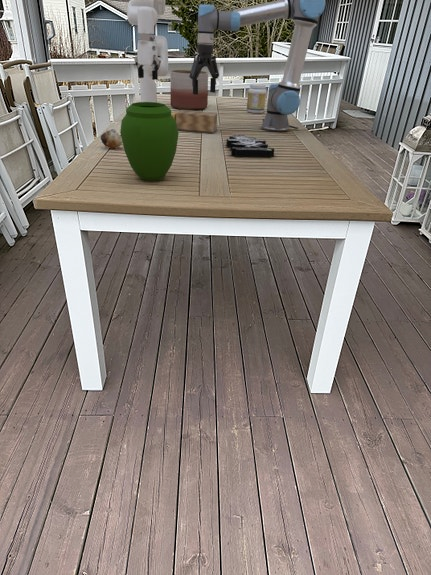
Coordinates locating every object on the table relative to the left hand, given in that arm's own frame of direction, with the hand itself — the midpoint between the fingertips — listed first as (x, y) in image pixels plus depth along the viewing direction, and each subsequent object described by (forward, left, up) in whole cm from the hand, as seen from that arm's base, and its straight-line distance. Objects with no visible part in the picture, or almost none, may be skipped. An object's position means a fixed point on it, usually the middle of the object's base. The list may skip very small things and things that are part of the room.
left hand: (147, 78), depth 202 cm
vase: (+81, +11, -24) cm, 85 cm away
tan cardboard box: (-6, +24, -24) cm, 35 cm away
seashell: (+41, -11, -24) cm, 49 cm away
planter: (-79, +16, -24) cm, 84 cm away
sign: (+31, +49, -24) cm, 63 cm away
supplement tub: (-74, +62, -24) cm, 100 cm away
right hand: (0, +28, -5) cm, 28 cm away
